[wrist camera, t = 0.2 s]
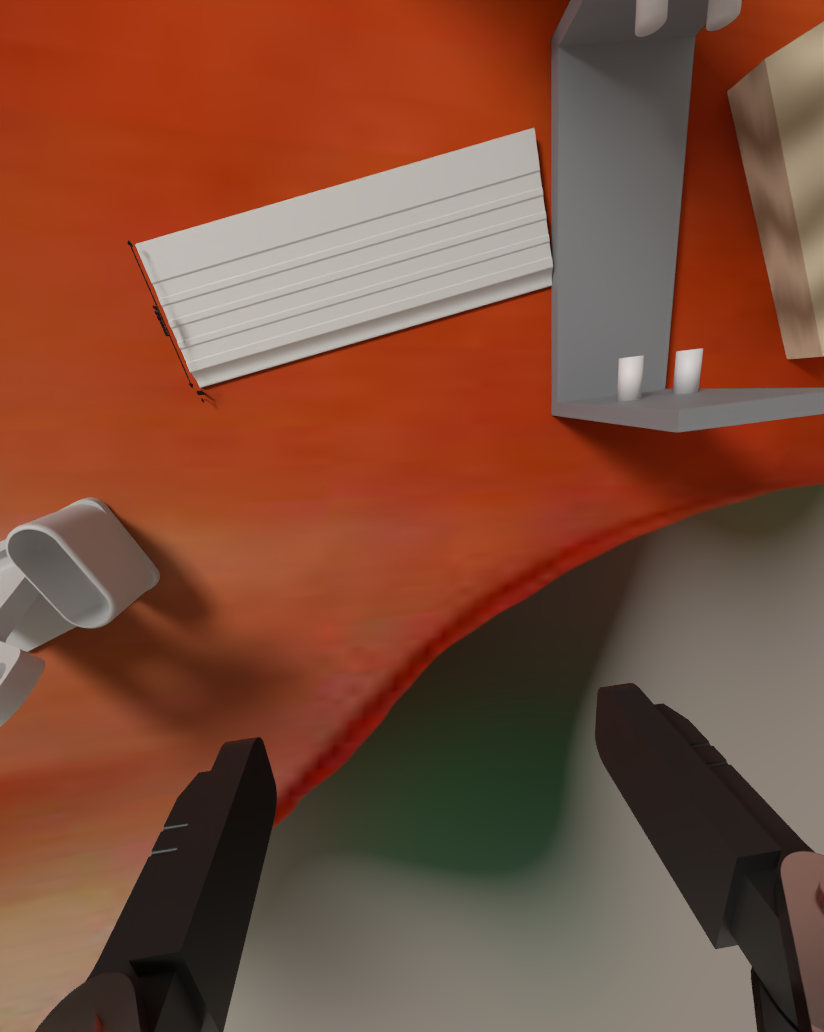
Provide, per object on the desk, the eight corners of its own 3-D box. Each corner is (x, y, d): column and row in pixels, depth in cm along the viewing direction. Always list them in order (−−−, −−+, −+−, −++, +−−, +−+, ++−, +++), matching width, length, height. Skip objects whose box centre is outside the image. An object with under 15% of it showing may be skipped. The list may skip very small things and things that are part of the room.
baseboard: (550, 306, 34) (526, 139, 30) (565, 299, 31) (541, 114, 28) (210, 405, 34) (145, 251, 30) (196, 406, 31) (122, 237, 28)
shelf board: (722, 95, 30) (764, 59, 27) (795, 49, 30) (847, 6, 26) (782, 359, 37) (822, 356, 34) (843, 325, 36) (889, 318, 33)
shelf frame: (551, 39, 28) (756, -377, 13) (684, 28, 29) (1034, -385, 13) (551, 415, 36) (677, 432, 21) (655, 402, 37) (850, 410, 22)
